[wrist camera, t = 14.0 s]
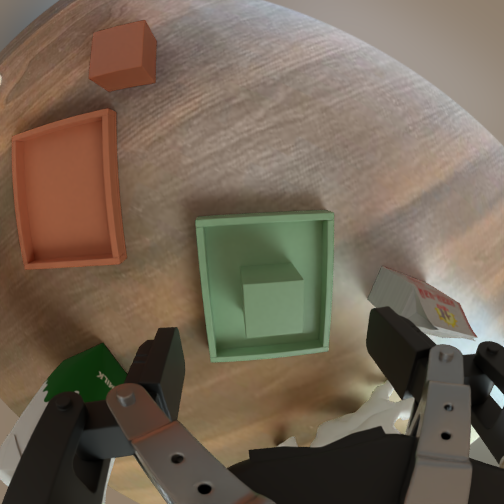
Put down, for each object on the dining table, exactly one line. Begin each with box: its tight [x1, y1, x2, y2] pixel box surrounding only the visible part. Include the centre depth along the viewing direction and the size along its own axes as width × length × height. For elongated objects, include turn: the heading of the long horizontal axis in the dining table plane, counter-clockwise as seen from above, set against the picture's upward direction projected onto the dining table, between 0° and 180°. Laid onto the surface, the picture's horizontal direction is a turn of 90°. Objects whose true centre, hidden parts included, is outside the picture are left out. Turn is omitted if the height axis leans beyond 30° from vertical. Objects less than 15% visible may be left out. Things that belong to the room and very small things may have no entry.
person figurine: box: [276, 380, 414, 447], centre depth 27 cm, size 13×13×18 cm
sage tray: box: [195, 210, 334, 362], centre depth 26 cm, size 13×11×2 cm
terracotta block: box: [89, 20, 157, 92], centre depth 19 cm, size 4×4×4 cm
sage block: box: [240, 263, 304, 338], centre depth 24 cm, size 4×4×4 cm
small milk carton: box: [367, 266, 478, 341], centre depth 23 cm, size 4×7×10 cm, turn 71°
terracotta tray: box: [12, 108, 127, 270], centre depth 22 cm, size 13×11×2 cm
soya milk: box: [0, 343, 127, 504], centre depth 18 cm, size 9×9×20 cm
